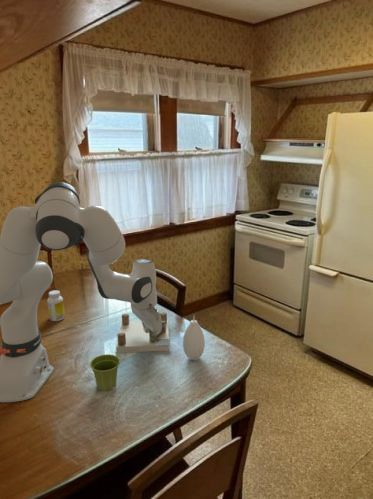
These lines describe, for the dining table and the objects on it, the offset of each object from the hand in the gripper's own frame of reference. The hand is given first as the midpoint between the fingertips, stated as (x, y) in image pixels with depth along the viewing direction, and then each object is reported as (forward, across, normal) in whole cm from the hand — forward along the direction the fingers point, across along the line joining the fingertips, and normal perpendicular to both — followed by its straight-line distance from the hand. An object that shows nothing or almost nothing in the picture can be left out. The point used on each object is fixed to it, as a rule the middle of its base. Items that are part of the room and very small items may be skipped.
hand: (146, 331), depth 144 cm
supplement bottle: (+6, +41, +25) cm, 49 cm away
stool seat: (+5, +5, -1) cm, 7 cm away
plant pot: (+5, -16, +22) cm, 28 cm away
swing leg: (+2, -1, -4) cm, 5 cm away
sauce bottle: (+6, -18, -10) cm, 22 cm away
